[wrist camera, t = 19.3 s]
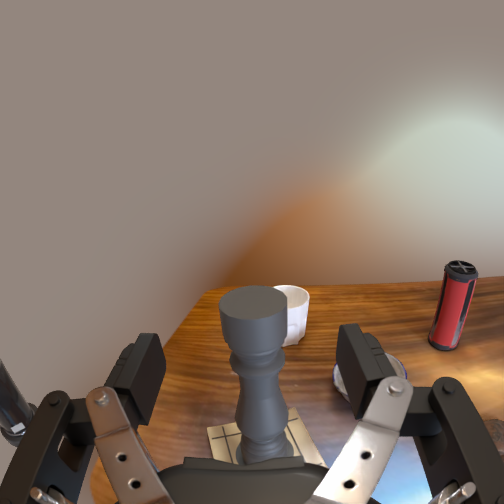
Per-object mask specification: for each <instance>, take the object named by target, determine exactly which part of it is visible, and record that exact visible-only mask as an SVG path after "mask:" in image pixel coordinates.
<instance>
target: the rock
mask: <svg viewBox="0 0 504 504" xmlns="http://www.w3.org/2000/svg"><path fill="white" fill-rule="evenodd" d="M484 424H485V426H486V428H487V430H488V432H489V434H490V435H491V437H492V439H493V441H494V443H495V445H496V447H497V449H498V451H499V454H500V456H501V458H502V460H503V462H504V421H500V420H498V419H493V420H489V421H484Z"/></svg>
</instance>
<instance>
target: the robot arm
mask: <svg viewBox="0 0 504 504" xmlns="http://www.w3.org/2000/svg"><path fill="white" fill-rule="evenodd" d="M336 361H337V366H338V369H339V372H340V374H341V377H342V380H343V383H344V386H345V389H346V392H347V395H348V398H349V401H350V404H351V407H352V410H353V413H354V416H355V419H361V418H362V420H360V421H359V422H358V424H357V425H356V427H355V429H354V431H353V432H352V434H351V436H350V438H349V439H348V441H347V443H346V444H345V446H344V448H343V449H342V451H341V453H340V454H339V456H338V458H337V459H336V461H335V462H334V464H333V465H332V467H331V468H330V469H328V468H326V467H324V466H321V465H317V464H312V463H305V462H304V456H303V455H301V456H291V457H279V458H271V459H268V460H264V461H260V462H256V463H251V464H247V465H238V464H234V463H229V462H225V461H220V460H216V459H211V458H194V457H184V462H183V464H180V465H176V466H172V467H169V468H166V469H164V470H162V471H160V470H159V468H158V467H157V465H156V463H155V462H154V460H153V458H152V457H151V455H150V453H149V452H148V450H147V448H146V446H145V444H144V442H143V441H142V439H141V437H140V435H139V433H138V431H137V428H138V425H139V424H140V425H147V426H148V424H149V421H150V418H151V414H152V411H153V408H154V405H155V402H156V399H157V396H158V393H159V390H160V387H161V384H162V381H163V378H164V375H165V372H166V360H165V356H164V353H163V350H162V346H161V343H160V339H159V336H158V335H157V334H155V333H140V335H139V336H138V338H137V340H136V342H135V344H133V343H131V344H130V345H128V346H127V347H126V348H125V349H124V350H123V351H122V353H121V355H120V356H119V359H118V360H117V362H116V365H115V366H114V367H113V369H112V371H111V373H110V375H109V377H108V379H107V380H106V383H105V384H104V386H103V387H98V388H95V389H93V390H92V391H91V392H89V394H88V395H87V397H86V398H82V399H70V398H69V396H68V395H67V393H65V392H64V391H53V392H50V393H49V394H47V395H46V396H45V397H44V399H43V400H42V402H41V404H40V406H39V407H38V409H37V411H36V413H34V411H33V409H32V408H31V407H30V406H29V404H28V403H27V402H26V400H25V398H24V397H23V395H22V394H21V393H20V391H19V390H18V388H17V386H16V385H15V383H14V381H13V380H12V378H11V376H10V375H9V373H8V371H7V370H6V368H5V366H4V364H3V363H2V361H1V359H0V427H1V428H2V429H4V430H5V431H6V433H7V434H8V435H10V436H13V437H20V436H23V437H22V439H21V441H20V443H19V446H18V448H17V450H16V452H15V454H14V456H13V458H12V461H11V463H10V465H9V467H8V469H7V472H6V474H5V476H4V479H3V481H2V484H1V486H0V504H77V500H78V497H79V493H80V490H81V487H82V483H83V480H84V477H85V473H86V470H87V467H88V464H89V461H90V458H91V455H92V452H93V449H94V446H96V449H97V451H98V454H99V457H100V459H101V462H102V464H103V467H104V469H105V472H106V474H107V477H108V479H109V481H110V483H111V486H112V488H113V490H114V492H115V494H116V496H117V499H118V502H116V503H115V504H381V503H379V502H378V501H376V500H375V499H373V498H371V495H372V493H373V491H374V490H375V488H376V486H377V484H378V482H379V480H380V478H381V476H382V474H383V472H384V470H385V467H386V465H387V463H388V461H389V459H390V457H391V454H392V452H393V450H394V447H395V445H396V442H397V440H398V438H399V436H413V439H414V442H415V445H416V447H417V450H418V453H419V456H420V459H421V462H422V465H423V468H424V471H425V474H426V478H427V481H428V484H429V487H430V491H431V494H432V498H433V499H432V500H431V501H430V502H429V503H428V504H504V462H503V460H502V458H501V456H500V454H499V451H498V449H497V447H496V445H495V443H494V441H493V439H492V437H491V435H490V434H489V432H488V430H487V428H486V426H485V424H484V422H483V420H482V419H481V417H480V415H479V413H478V411H477V410H476V408H475V406H474V404H473V403H472V401H471V399H470V397H469V396H468V394H467V392H466V391H465V389H464V387H463V386H462V384H461V383H460V382H459V381H458V380H456V379H454V378H451V377H441V378H439V379H437V380H436V381H435V382H434V384H433V386H432V387H414V386H412V384H411V383H410V382H409V381H408V380H407V379H405V378H402V377H399V376H397V374H396V372H395V370H394V368H393V367H392V365H391V363H390V361H389V359H388V358H387V356H386V354H385V352H384V350H383V349H382V348H381V345H380V343H379V342H378V340H377V339H376V338H375V337H374V336H372V335H371V334H370V333H362V331H361V329H360V327H359V325H358V324H357V323H354V324H346V325H340V327H339V333H338V341H337V349H336ZM62 436H64V439H63V441H62V444H61V446H60V449H59V451H58V445H59V443H60V441H61V439H62Z"/></svg>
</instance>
